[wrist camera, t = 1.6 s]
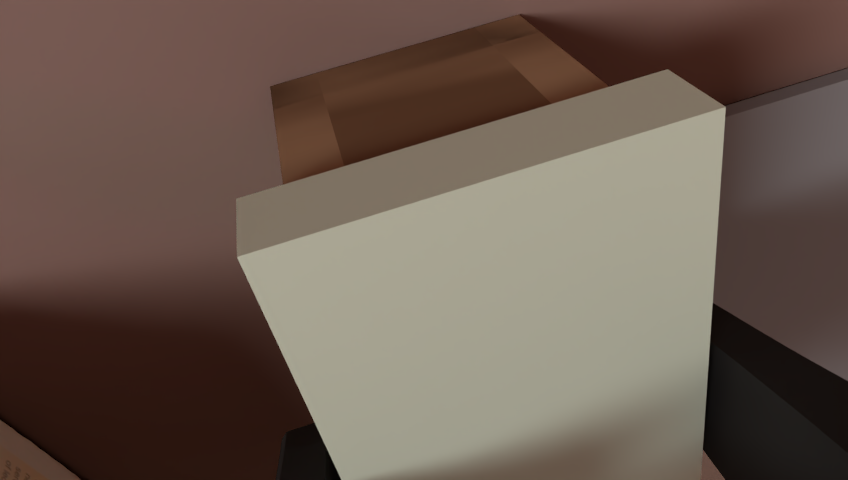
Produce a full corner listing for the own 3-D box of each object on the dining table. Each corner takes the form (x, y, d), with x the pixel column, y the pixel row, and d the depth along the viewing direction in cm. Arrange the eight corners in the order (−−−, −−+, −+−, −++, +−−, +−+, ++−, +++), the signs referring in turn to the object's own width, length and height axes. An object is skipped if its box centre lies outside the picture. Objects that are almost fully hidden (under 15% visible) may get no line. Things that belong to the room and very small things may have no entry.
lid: (662, 532, 14) (693, 586, 13) (421, 618, 14) (435, 680, 13) (667, 69, 8) (725, 106, 7) (235, 199, 8) (236, 256, 7)
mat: (838, 372, 20) (848, 382, 20) (615, 449, 19) (621, 460, 19) (915, 48, 14) (931, 53, 14) (598, 144, 13) (606, 153, 13)
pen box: (564, 394, 17) (640, 533, 14) (401, 449, 17) (441, 603, 14) (519, 14, 12) (630, 102, 8) (270, 86, 11) (286, 207, 8)
